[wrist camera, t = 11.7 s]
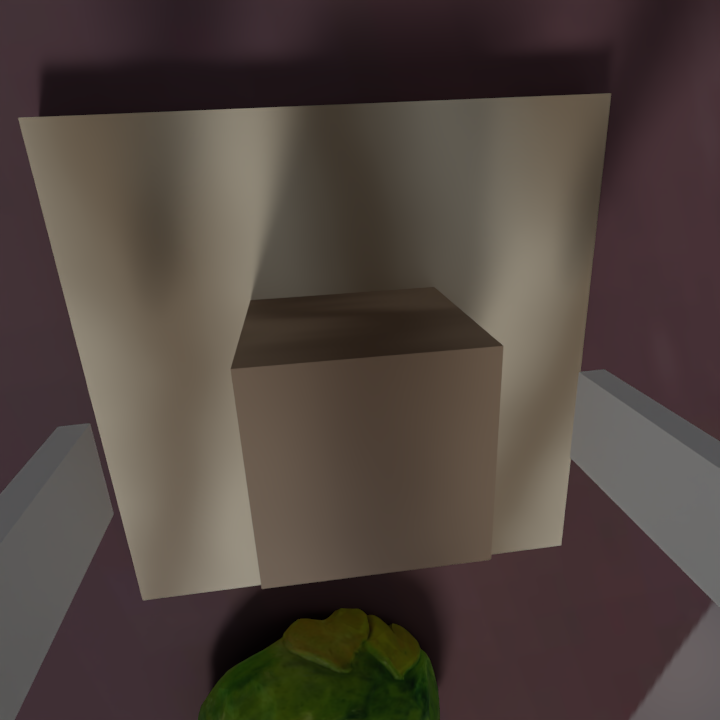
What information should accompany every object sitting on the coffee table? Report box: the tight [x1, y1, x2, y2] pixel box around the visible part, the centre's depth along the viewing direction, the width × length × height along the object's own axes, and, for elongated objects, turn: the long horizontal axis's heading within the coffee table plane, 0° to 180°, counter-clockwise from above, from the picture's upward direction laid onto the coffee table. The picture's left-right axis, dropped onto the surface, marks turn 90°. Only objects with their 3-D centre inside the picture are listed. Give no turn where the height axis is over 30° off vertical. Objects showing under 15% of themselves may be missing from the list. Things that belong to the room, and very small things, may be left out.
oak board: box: [18, 93, 611, 600], centre depth 19 cm, size 17×17×1 cm
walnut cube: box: [231, 287, 503, 589], centre depth 15 cm, size 6×6×6 cm
